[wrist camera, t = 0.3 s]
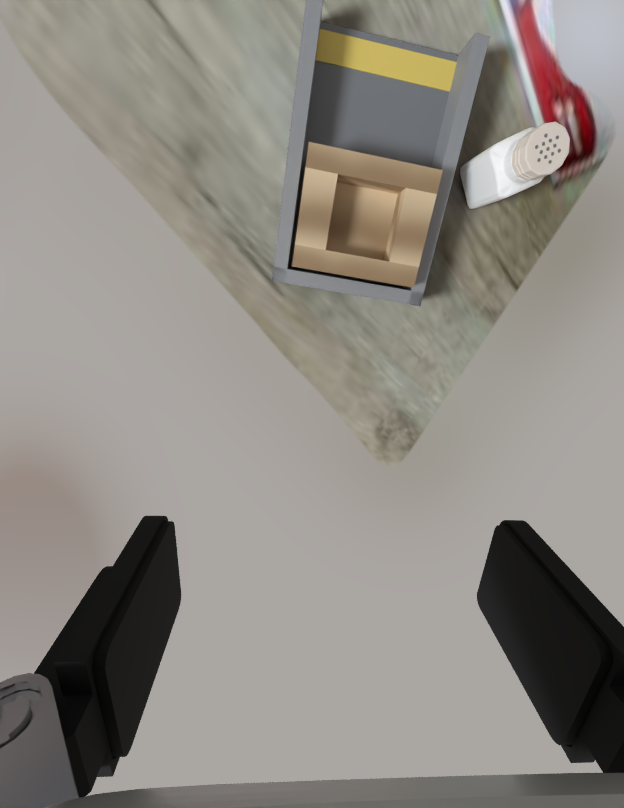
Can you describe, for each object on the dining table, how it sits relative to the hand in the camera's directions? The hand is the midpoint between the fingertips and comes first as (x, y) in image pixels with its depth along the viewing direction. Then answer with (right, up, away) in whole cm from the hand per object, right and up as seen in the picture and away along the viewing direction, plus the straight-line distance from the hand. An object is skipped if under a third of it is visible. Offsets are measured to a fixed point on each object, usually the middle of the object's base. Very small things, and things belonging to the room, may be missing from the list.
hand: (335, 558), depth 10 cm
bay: (+4, +25, +23) cm, 34 cm away
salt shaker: (+15, +26, +24) cm, 38 cm away
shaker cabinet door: (+3, +21, +23) cm, 32 cm away
